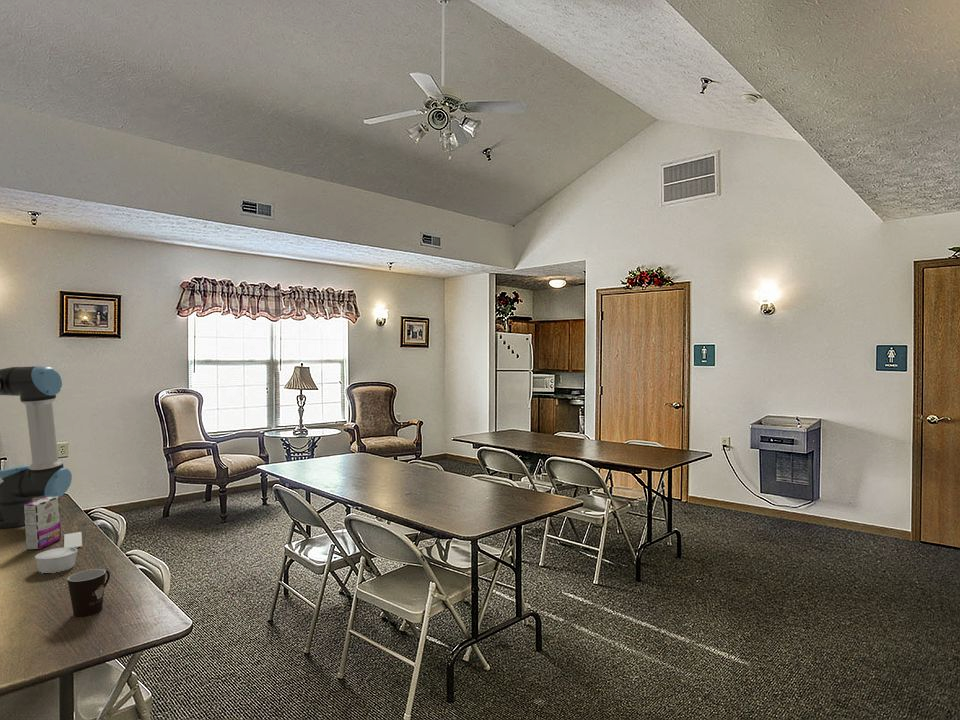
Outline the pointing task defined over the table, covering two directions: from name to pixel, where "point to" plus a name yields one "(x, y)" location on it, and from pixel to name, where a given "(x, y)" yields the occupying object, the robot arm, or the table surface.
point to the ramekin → (56, 560)
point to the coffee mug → (87, 591)
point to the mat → (73, 540)
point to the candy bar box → (42, 522)
